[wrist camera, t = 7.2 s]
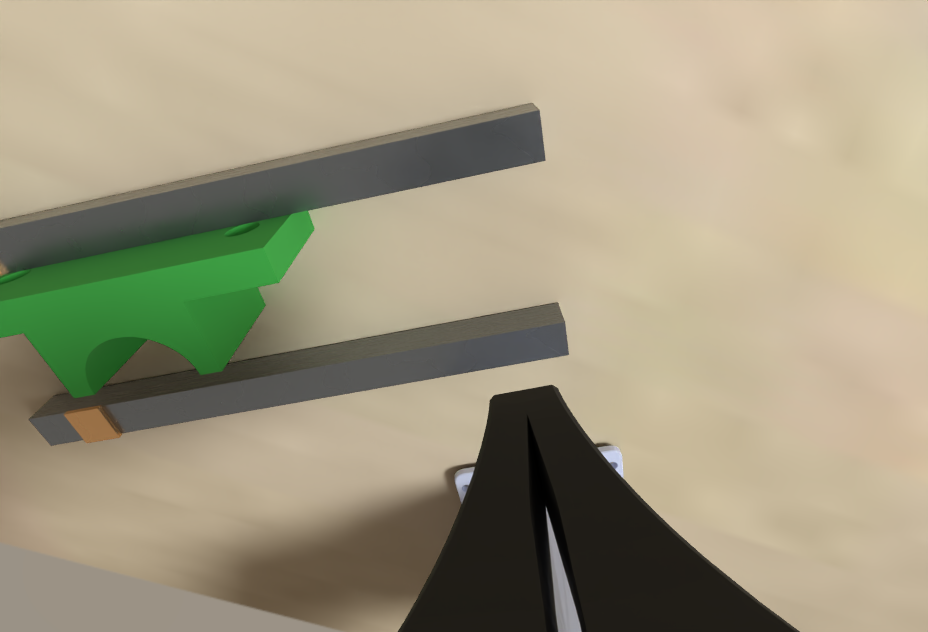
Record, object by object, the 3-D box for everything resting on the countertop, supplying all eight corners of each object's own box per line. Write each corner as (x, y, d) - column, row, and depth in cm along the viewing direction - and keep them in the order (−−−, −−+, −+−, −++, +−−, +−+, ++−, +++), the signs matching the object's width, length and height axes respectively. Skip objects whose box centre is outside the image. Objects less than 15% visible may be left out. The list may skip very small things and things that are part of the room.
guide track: (561, 334, 21) (569, 358, 19) (74, 422, 23) (48, 450, 21) (532, 101, 16) (540, 109, 15) (-74, 235, 18) (-121, 254, 17)
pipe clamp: (80, 338, 21) (-9, 414, 17) (23, 256, 19) (-94, 320, 15) (340, 289, 20) (309, 357, 16) (306, 197, 18) (261, 248, 14)
